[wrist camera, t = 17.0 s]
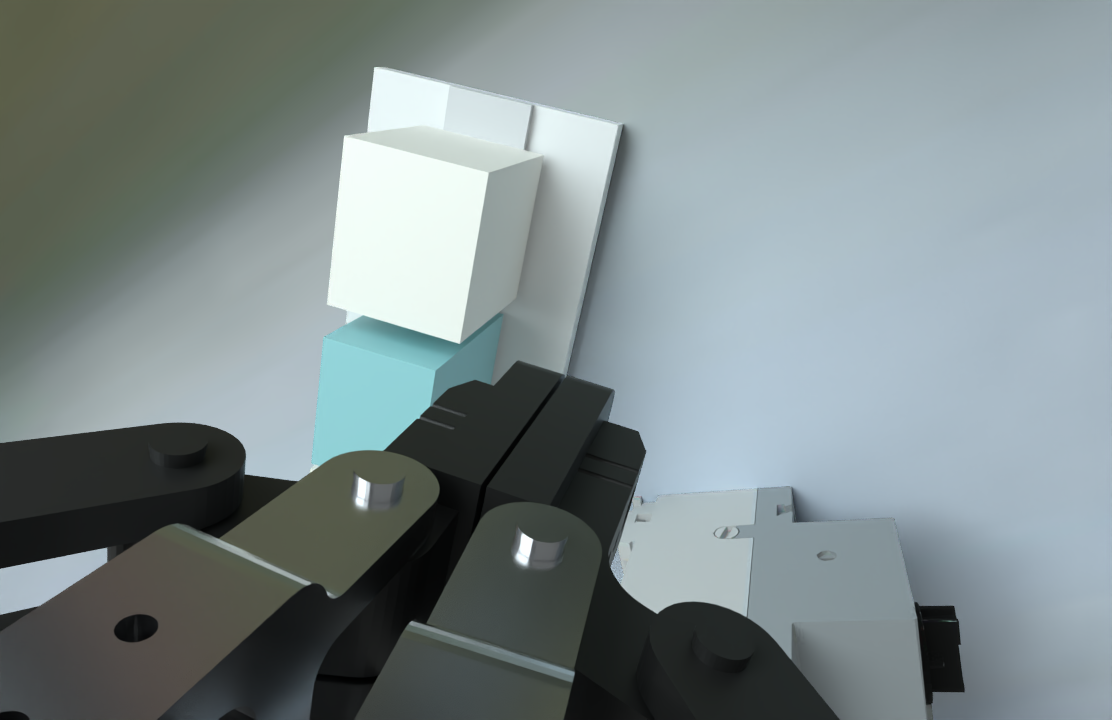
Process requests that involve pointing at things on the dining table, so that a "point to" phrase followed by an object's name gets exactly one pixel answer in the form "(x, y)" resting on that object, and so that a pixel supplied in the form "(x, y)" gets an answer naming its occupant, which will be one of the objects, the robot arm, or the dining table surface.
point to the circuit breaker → (801, 593)
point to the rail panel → (550, 218)
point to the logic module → (389, 380)
